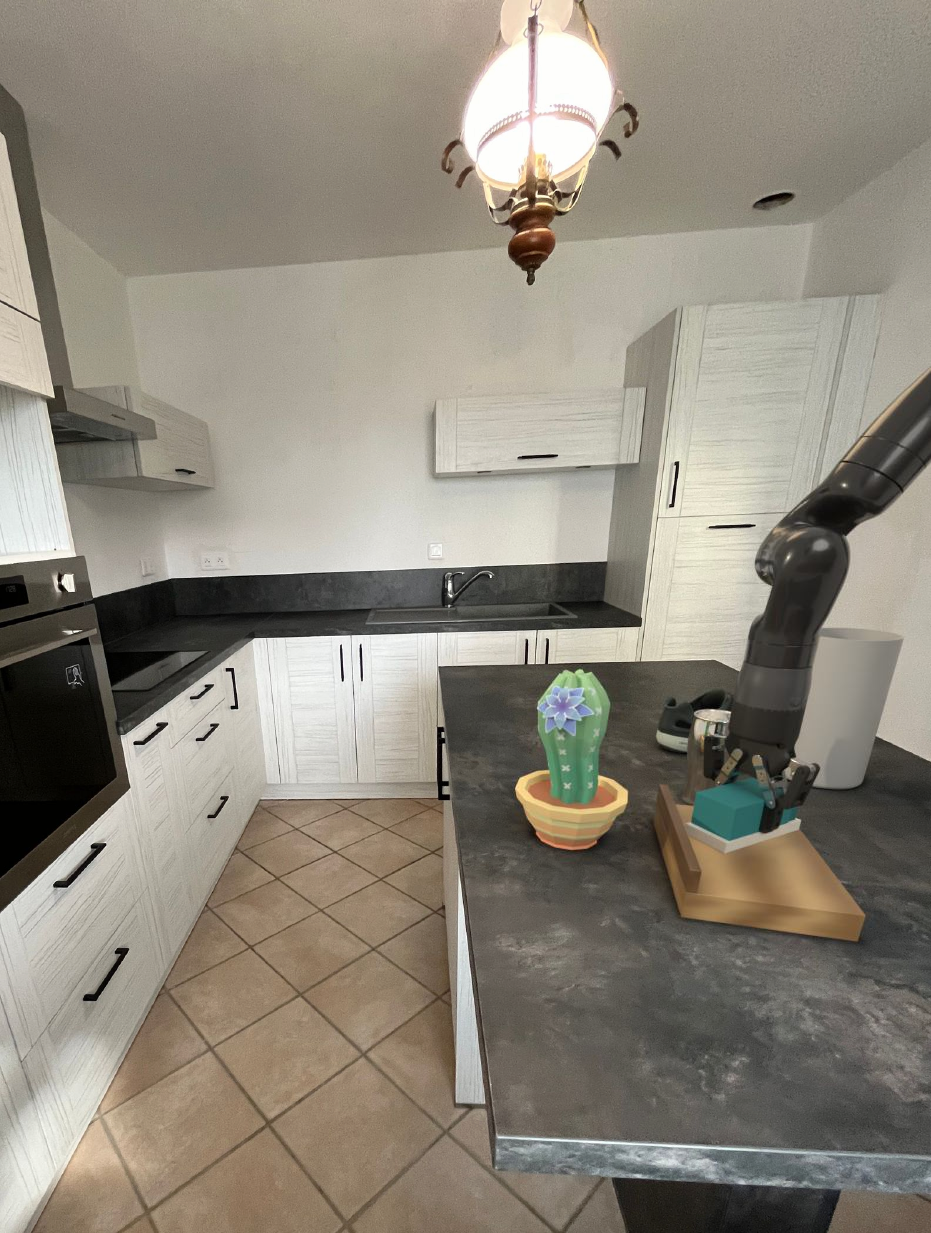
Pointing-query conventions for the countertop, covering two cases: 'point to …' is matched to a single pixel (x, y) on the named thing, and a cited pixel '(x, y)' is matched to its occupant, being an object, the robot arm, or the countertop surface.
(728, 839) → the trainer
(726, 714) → the silver metal cup
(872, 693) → the cylinder vase
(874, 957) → the countertop surface
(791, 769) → the robot arm
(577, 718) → the potted cactus
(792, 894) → the wooden board with lip
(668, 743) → the water shoe
